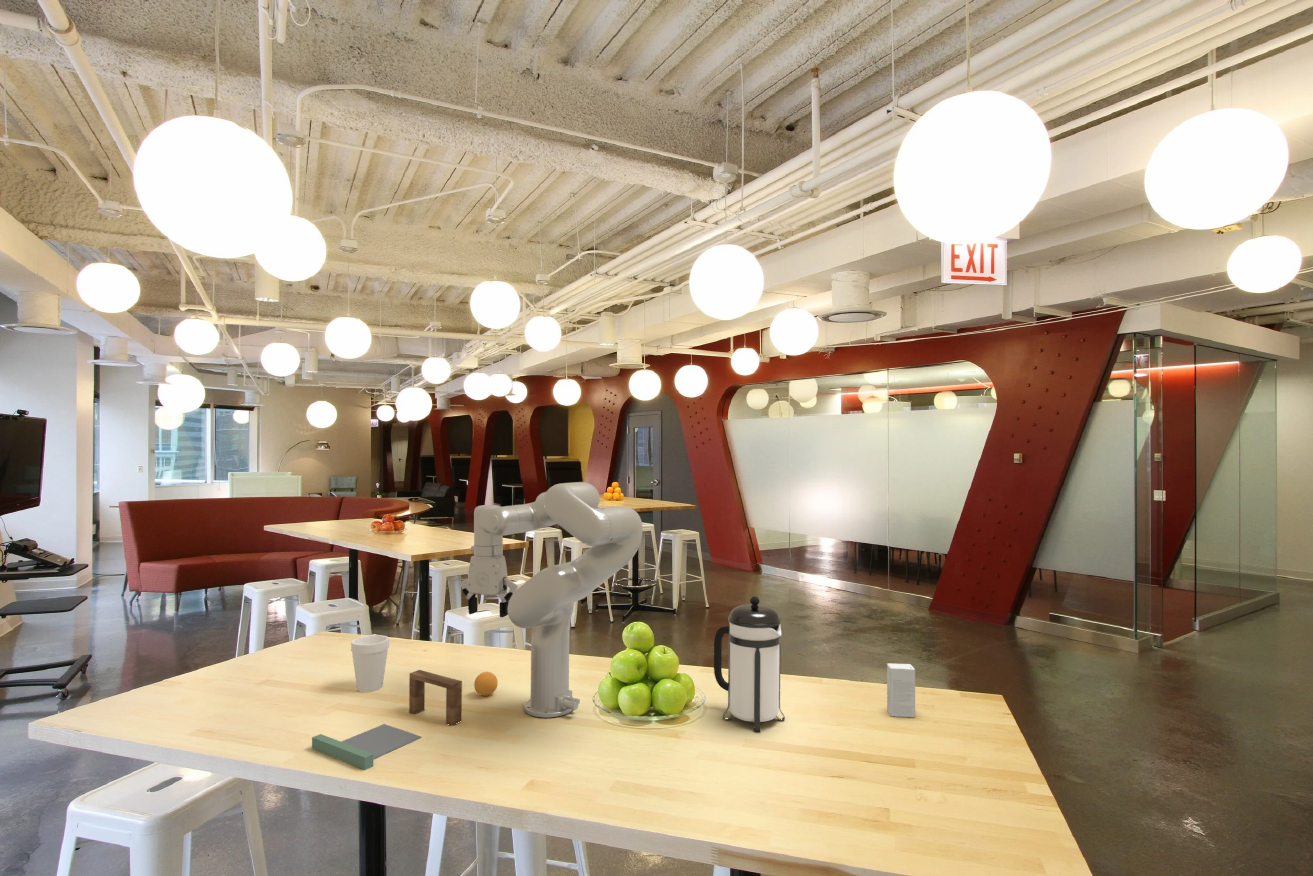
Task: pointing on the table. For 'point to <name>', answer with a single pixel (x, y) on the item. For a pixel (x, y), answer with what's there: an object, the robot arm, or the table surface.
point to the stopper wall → (342, 751)
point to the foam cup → (369, 661)
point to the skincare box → (901, 690)
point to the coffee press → (751, 663)
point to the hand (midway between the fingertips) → (488, 614)
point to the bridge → (451, 685)
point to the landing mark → (381, 740)
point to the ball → (485, 683)
